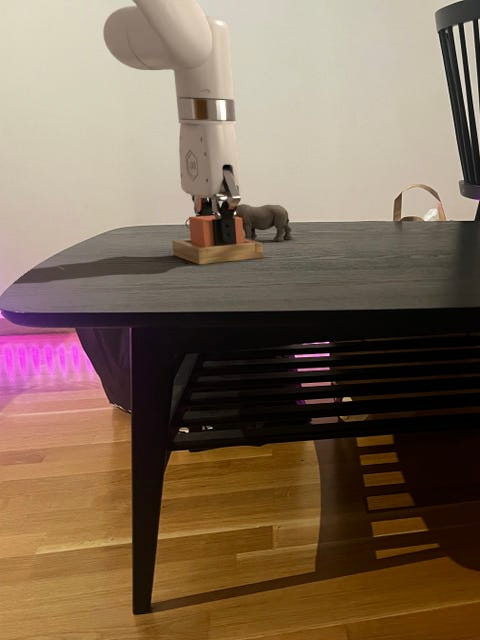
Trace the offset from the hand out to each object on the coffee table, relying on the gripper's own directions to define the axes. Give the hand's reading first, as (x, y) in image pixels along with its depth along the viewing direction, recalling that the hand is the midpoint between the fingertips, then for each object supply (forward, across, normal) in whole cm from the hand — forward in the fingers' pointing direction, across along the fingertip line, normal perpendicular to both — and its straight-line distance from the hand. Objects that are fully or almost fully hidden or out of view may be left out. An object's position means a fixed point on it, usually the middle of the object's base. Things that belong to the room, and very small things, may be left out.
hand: (217, 242), depth 104 cm
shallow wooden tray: (+2, 0, 0) cm, 2 cm away
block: (0, 0, 0) cm, 0 cm away
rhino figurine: (+2, -11, +11) cm, 16 cm away
